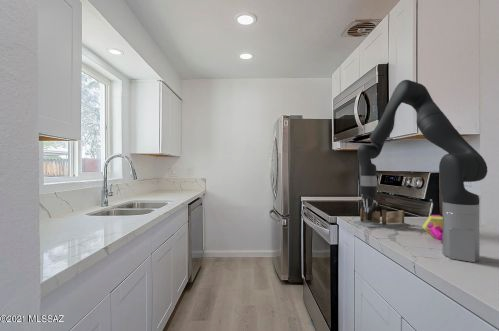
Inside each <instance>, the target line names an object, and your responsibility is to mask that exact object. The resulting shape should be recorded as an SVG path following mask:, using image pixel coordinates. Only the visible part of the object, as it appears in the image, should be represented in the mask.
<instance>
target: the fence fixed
mask: <svg viewBox="0 0 499 331" xmlns="http://www.w3.org/2000/svg"><path fill="white" fill-rule="evenodd" d="M381 220H382V224H383V225H386V220H387V223H405V210H403V209H401V210H398V211H387V209H381Z"/></svg>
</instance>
